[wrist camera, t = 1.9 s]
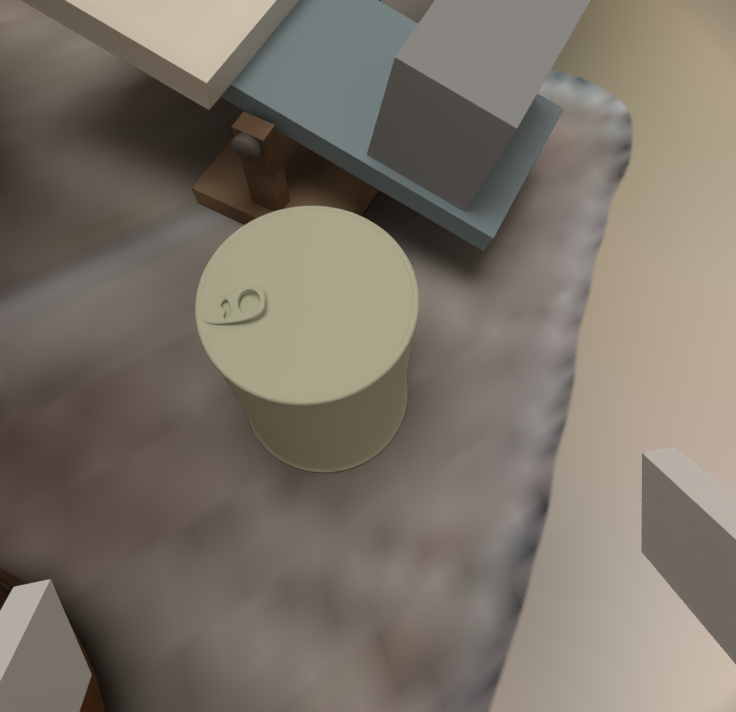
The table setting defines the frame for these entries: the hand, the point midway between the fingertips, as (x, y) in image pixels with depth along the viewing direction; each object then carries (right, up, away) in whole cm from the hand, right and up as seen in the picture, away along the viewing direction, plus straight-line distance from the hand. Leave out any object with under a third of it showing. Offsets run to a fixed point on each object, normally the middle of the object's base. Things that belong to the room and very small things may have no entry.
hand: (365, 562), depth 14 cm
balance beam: (-4, +22, +22) cm, 32 cm away
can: (-2, +2, +22) cm, 23 cm away
